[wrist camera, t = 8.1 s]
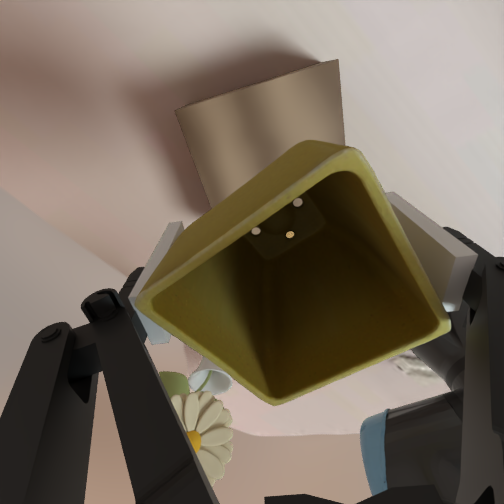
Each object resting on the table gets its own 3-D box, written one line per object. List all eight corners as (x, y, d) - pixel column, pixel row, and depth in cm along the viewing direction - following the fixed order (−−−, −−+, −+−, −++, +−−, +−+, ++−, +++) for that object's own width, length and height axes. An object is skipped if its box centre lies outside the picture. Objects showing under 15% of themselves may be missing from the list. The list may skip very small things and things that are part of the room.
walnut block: (320, 62, 27) (338, 59, 22) (335, 194, 34) (350, 214, 29) (187, 104, 29) (174, 110, 23) (228, 221, 36) (225, 245, 31)
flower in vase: (269, 308, 44) (292, 521, 23) (210, 334, 47) (183, 544, 26) (223, 249, 38) (196, 466, 17) (159, 283, 41) (68, 505, 20)
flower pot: (369, 227, 18) (459, 333, 10) (263, 290, 21) (272, 412, 13) (298, 108, 14) (358, 138, 7) (179, 204, 17) (125, 304, 9)
